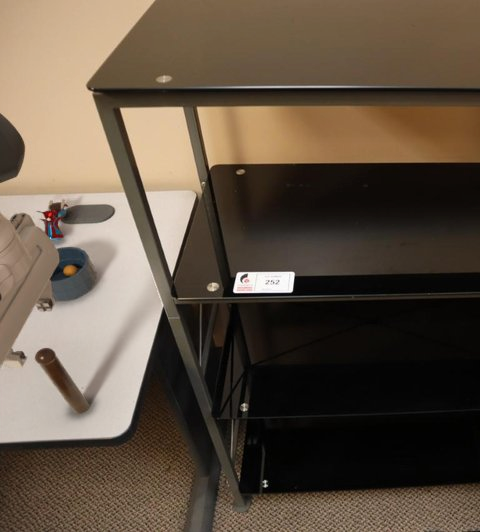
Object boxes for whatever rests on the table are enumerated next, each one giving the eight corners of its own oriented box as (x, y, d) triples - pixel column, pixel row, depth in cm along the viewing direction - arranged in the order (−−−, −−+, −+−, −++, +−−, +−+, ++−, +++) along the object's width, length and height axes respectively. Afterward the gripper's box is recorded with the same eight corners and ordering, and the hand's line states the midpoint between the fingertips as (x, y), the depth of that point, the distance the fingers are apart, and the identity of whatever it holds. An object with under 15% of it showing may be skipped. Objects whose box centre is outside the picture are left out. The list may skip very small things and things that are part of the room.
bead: (64, 280, 99) (59, 271, 97) (68, 271, 101) (64, 262, 99) (77, 280, 99) (72, 271, 97) (81, 271, 101) (77, 262, 99)
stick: (70, 414, 80) (28, 358, 70) (76, 401, 82) (36, 344, 71) (86, 414, 81) (47, 358, 70) (92, 400, 82) (54, 344, 72)
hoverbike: (41, 248, 105) (29, 228, 101) (50, 212, 113) (39, 192, 109) (69, 245, 106) (58, 224, 102) (76, 209, 114) (66, 189, 110)
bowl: (33, 303, 95) (20, 283, 91) (54, 266, 102) (42, 246, 98) (88, 303, 96) (77, 283, 92) (105, 266, 103) (95, 246, 99)
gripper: (-5, 205, 66) (40, 279, 76) (-101, 330, 52) (-30, 402, 61) (47, 205, 67) (86, 278, 76) (-33, 328, 52) (27, 399, 62)
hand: (34, 334), depth 69 cm, fingers open, 8 cm apart
